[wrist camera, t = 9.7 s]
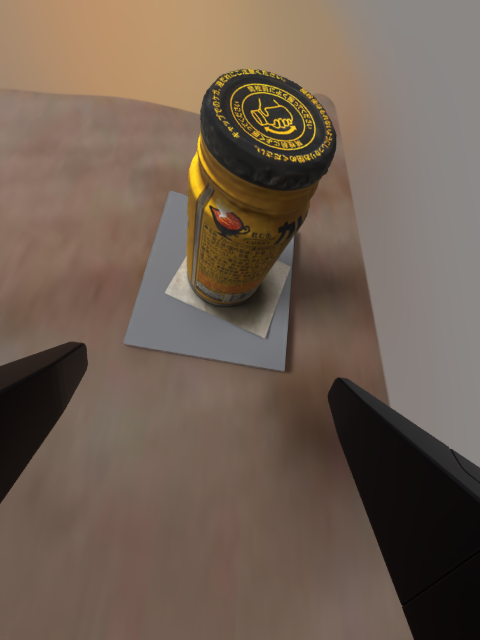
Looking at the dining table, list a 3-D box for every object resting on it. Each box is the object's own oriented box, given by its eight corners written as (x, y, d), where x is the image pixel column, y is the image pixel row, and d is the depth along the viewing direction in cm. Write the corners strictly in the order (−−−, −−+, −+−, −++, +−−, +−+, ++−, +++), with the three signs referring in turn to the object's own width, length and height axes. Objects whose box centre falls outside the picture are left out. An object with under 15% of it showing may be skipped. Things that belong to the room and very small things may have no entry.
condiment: (204, 225, 20) (227, 22, 9) (289, 267, 21) (408, 127, 10) (164, 294, 18) (129, 128, 7) (263, 339, 18) (384, 259, 7)
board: (280, 371, 19) (284, 371, 18) (125, 345, 17) (122, 343, 16) (291, 231, 23) (295, 226, 23) (170, 197, 21) (169, 190, 21)
